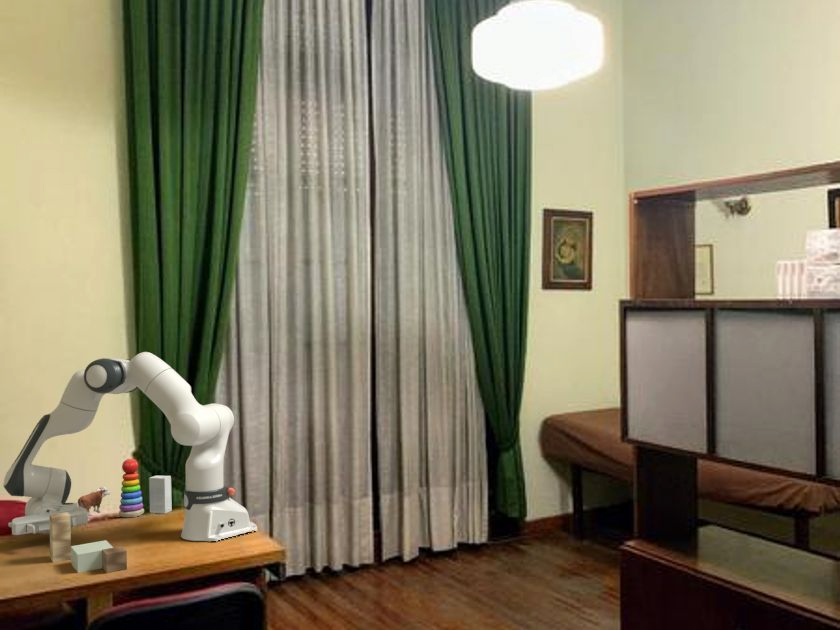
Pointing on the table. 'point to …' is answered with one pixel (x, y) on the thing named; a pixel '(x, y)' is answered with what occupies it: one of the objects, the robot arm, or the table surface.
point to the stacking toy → (130, 491)
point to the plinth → (88, 556)
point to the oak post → (60, 537)
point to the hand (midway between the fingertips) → (54, 527)
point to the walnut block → (114, 559)
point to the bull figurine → (93, 500)
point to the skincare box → (160, 494)
